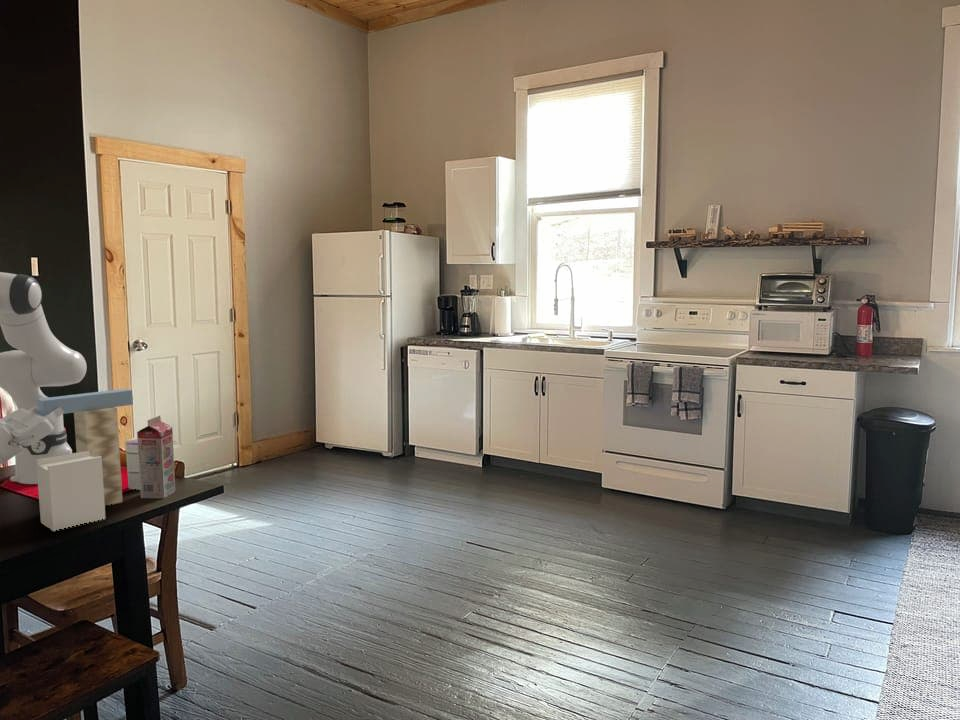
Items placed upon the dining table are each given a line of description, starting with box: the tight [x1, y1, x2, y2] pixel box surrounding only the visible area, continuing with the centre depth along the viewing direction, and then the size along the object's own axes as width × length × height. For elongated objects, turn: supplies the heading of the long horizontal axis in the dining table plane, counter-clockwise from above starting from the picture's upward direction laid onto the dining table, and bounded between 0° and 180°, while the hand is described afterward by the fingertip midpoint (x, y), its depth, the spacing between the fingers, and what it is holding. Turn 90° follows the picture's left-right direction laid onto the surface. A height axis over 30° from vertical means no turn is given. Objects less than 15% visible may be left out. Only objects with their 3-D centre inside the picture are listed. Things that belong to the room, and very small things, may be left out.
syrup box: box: [124, 436, 140, 491], centre depth 211 cm, size 6×6×14 cm
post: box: [73, 407, 123, 507], centre depth 197 cm, size 8×8×26 cm
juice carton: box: [136, 415, 176, 499], centre depth 204 cm, size 7×7×22 cm
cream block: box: [36, 451, 106, 532], centre depth 183 cm, size 12×9×16 cm
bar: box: [37, 388, 134, 416], centre depth 193 cm, size 22×4×4 cm, turn 138°
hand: (55, 406), depth 188 cm, fingers open, 8 cm apart
